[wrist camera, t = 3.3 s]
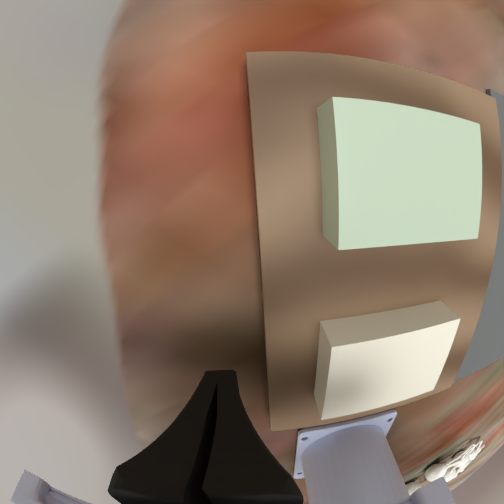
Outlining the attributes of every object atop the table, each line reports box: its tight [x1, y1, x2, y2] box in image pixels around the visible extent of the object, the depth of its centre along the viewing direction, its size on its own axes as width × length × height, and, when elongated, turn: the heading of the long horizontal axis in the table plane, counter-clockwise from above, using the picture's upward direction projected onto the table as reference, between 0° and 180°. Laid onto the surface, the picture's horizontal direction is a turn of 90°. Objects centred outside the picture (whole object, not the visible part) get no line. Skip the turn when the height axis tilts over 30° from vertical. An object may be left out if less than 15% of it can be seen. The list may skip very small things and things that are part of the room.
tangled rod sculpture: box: [406, 440, 485, 495], centre depth 23 cm, size 19×14×4 cm
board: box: [246, 51, 502, 432], centre depth 12 cm, size 20×14×2 cm
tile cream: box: [314, 300, 461, 420], centre depth 12 cm, size 5×7×2 cm
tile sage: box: [317, 97, 482, 250], centre depth 9 cm, size 5×7×2 cm
